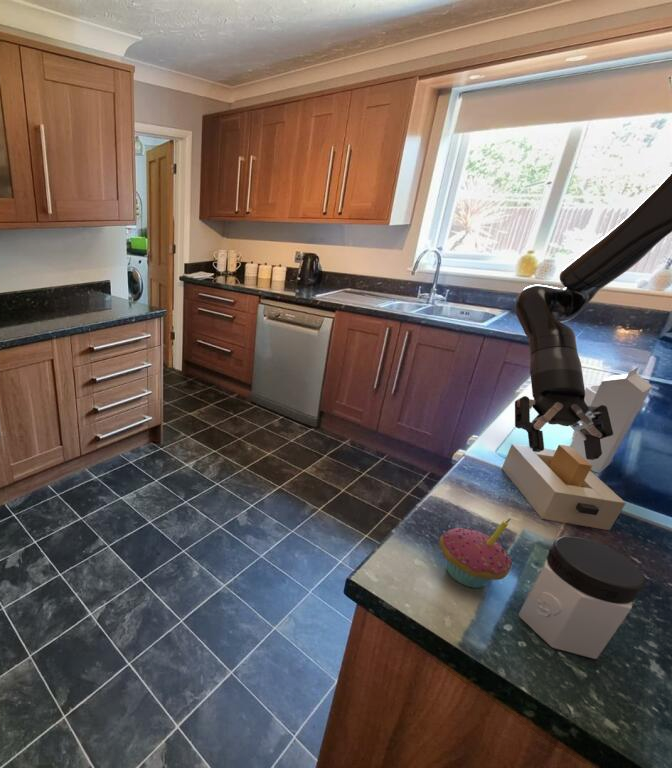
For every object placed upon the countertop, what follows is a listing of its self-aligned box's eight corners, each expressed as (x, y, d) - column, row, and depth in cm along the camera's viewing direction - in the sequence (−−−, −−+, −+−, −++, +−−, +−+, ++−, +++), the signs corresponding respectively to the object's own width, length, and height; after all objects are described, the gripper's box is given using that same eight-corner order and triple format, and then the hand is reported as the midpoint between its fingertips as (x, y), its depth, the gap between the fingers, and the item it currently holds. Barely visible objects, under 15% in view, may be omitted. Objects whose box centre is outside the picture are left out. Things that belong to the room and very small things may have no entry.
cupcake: (498, 569, 64) (528, 507, 60) (501, 610, 58) (534, 545, 53) (433, 545, 69) (456, 485, 64) (429, 580, 62) (454, 517, 57)
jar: (501, 602, 59) (533, 537, 54) (548, 593, 61) (584, 529, 56) (568, 666, 51) (614, 597, 46) (621, 654, 53) (670, 585, 48)
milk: (562, 459, 93) (607, 366, 84) (573, 451, 96) (618, 360, 86) (599, 474, 88) (651, 376, 79) (609, 465, 91) (660, 370, 82)
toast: (550, 485, 82) (570, 446, 79) (570, 506, 77) (592, 465, 73) (540, 483, 83) (558, 444, 79) (558, 504, 77) (579, 463, 73)
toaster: (501, 468, 89) (511, 443, 87) (557, 476, 87) (569, 451, 84) (545, 523, 74) (559, 496, 72) (614, 535, 72) (631, 507, 69)
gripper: (525, 363, 82) (533, 444, 77) (614, 372, 79) (629, 457, 73) (503, 378, 89) (509, 453, 83) (584, 386, 86) (596, 465, 80)
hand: (565, 454), depth 78 cm, fingers open, 8 cm apart
